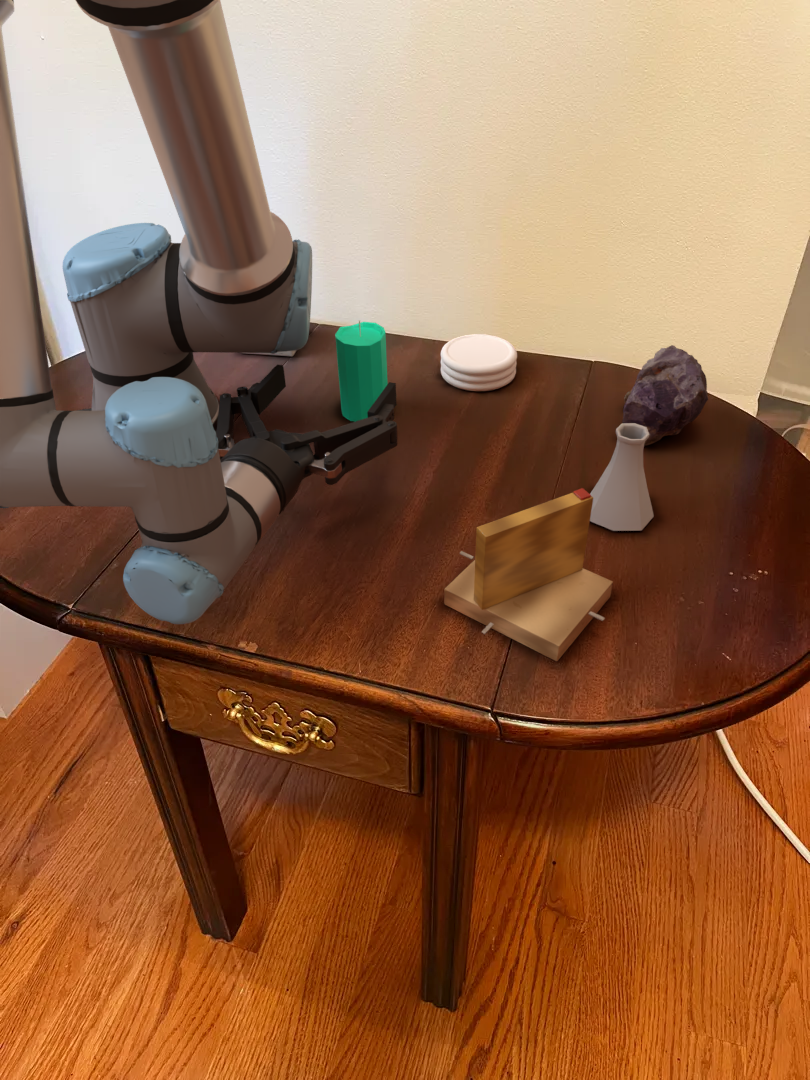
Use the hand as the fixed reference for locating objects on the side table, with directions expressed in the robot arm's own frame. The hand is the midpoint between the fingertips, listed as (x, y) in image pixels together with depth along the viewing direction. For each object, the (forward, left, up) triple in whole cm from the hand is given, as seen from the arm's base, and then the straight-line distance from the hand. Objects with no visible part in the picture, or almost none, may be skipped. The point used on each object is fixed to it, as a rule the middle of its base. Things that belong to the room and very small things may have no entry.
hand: (336, 384), depth 94 cm
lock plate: (+27, -19, -8) cm, 34 cm away
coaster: (+11, +21, -8) cm, 25 cm away
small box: (-19, +21, -8) cm, 29 cm away
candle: (0, +8, -8) cm, 11 cm away
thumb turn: (+27, -19, -6) cm, 34 cm away
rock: (+35, +15, -8) cm, 39 cm away
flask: (+33, -3, -8) cm, 34 cm away
